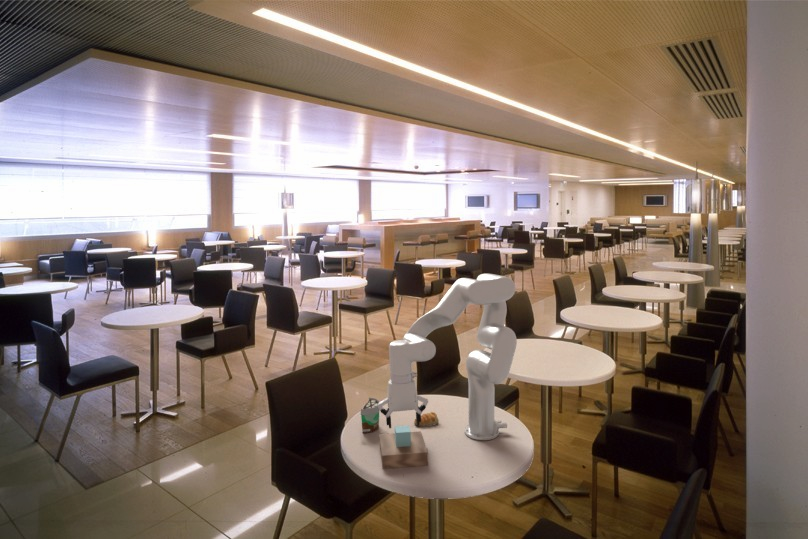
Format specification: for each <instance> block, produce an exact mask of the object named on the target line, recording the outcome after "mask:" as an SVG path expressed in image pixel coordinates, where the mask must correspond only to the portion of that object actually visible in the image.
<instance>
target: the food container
mask: <svg viewBox="0 0 808 539" xmlns="http://www.w3.org/2000/svg"><path fill="white" fill-rule="evenodd" d="M379 402H380V400H378V398H375V397H368V401H367V402H366V403H365V405H364V406H363V408H361V409H360V415H361V416H360V417H361V430H362V432H361V433H362V434H371V433H374V432H377V431H378V430H379V426H380V412H381V411H380V410H379V408H378V406H377V404H378V403H379Z"/></svg>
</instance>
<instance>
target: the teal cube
mask: <svg viewBox="0 0 808 539" xmlns="http://www.w3.org/2000/svg"><path fill="white" fill-rule="evenodd" d="M411 432H412V431H411V428H410V425H395V426H394V433H395V443H396V447H404V446H411Z"/></svg>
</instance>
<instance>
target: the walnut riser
mask: <svg viewBox="0 0 808 539" xmlns="http://www.w3.org/2000/svg"><path fill="white" fill-rule="evenodd" d="M378 440H379V452H380V460H381V466H382V467H381V469H382V470H385V469H394V468H407V467H408V468H409V467H422V466H423V467H424V466H429V458H428V457H429V454H428V448H427V447H426V446H427V445H426V442H425V439H424V436H423V433H422V431H421V430H420V431H419V430H418V431H411V446H404V447H396V443H395V432H394V433H393V432H392V433H382V434H381V433H380V434H379V439H378Z"/></svg>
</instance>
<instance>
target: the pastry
mask: <svg viewBox="0 0 808 539" xmlns="http://www.w3.org/2000/svg"><path fill="white" fill-rule="evenodd" d="M413 422H414V423H413V424H414V425H415V426H416V427H430V426H434V425H435V426H436V425H438V424H439V418H438V416H437V414H436V412H434V411H431V412H427V413H426V412H425V413H423V414H421V422H419V426H418V425H417V423H416V418H415V419H414V421H413Z"/></svg>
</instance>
